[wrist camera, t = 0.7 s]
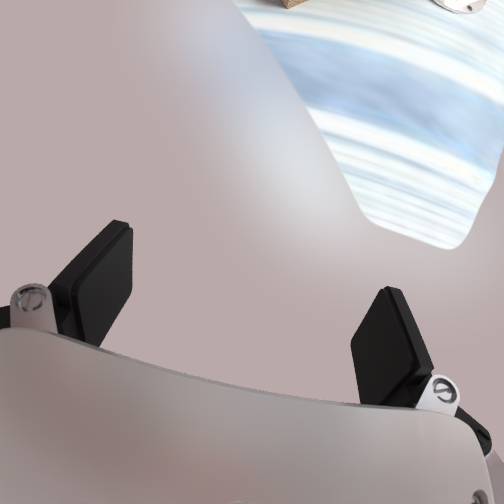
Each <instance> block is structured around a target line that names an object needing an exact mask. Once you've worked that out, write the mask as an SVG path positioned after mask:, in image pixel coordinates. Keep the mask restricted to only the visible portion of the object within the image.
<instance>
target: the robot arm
mask: <svg viewBox="0 0 504 504" xmlns="http://www.w3.org/2000/svg"><path fill="white" fill-rule="evenodd" d="M433 1H434V2H436V3H437V4H438V5H440V6H442V7H444V8H445V9H447V10H450V11H452V12H455V13H459V14H472V13H476V12H478V11H480V10H481V9H482V8H483V7H484V5H485V4H486V0H433ZM132 252H133V229H132V228H130V227H129V224H128V223H126V222H122V221H117V220H113V221H112V222H110V223H109V224H108V225H107V226H106V227H105V228H104V229H103V230H102V231H101V232H100V233H99V234H98V235H97V236H96V237H95V238H94V239H93V240H92V241H91V242H90V243H89V244H88V245H87V246H86V247H85V248H84V249H83V250H82V251H81V252H80V253H79V254H78V255H77V256H76V257H75V258H74V259H73V260H72V261H71V262H70V263H69V264H68V265H67V266H66V267H65V268H64V270H63V271H62V272H61V273H60V274H59V275H58V276H57V277H56V278H55V279H54V280H53V281H52V283H51V284H50V285H49V286H48V287H45V286H43V285H41V284H36V283H35V284H27V285H24V286H22V287H20V288H18V289H17V290H16V291H15V292H14V293H13V295H12V297H11V301H10V305H9V306H4V307H0V504H504V463H503V462H502V460H501V459H500V458H499V456H498V455H497V453H496V452H495V451H492V452H491V451H490V450H491V446H492V443H491V437H490V434H489V432H488V431H487V430H486V429H485V428H484V427H483V426H482V425H481V424H479V423H478V422H477V421H476V420H475V419H473V418H472V417H471V416H470V415H469V414H467V413H466V412H465V411H464V410H463V409H461V408H460V407H459V406H458V404H459V401H460V394H459V390H458V388H457V386H456V385H455V384H454V382H453V381H452V380H450V379H449V378H447V377H446V376H443V375H434V376H432V374H431V371H432V370H433V369H434V366H433V364H432V361H431V359H430V356H429V354H428V351H427V348H426V346H425V344H424V341H423V339H422V336H421V334H420V331H419V329H418V327H417V324H416V322H415V320H414V317H413V315H412V313H411V311H410V308H409V306H408V304H407V302H406V300H405V297H404V295H403V293H402V291H401V290H400V289H397V288H393V287H389V286H386V287H385V288H384V289H381V290H380V291H379V292H378V294H377V296H376V298H375V299H374V301H373V303H372V305H371V307H370V308H369V310H368V312H367V314H366V315H365V317H364V319H363V321H362V322H361V324H360V326H359V327H358V329H357V331H356V333H355V334H354V336H353V338H352V340H351V351H352V357H353V362H354V367H355V373H356V379H357V385H358V391H359V398H360V404H355V403H344V402H335V401H326V400H318V399H311V398H303V397H297V396H290V395H284V394H277V393H272V392H267V391H261V390H256V389H251V388H245V387H240V386H236V385H231V384H226V383H222V382H218V381H213V380H209V379H205V378H200V377H197V376H193V375H188V374H185V373H181V372H177V371H174V370H170V369H166V368H163V367H159V366H156V365H153V364H149V363H146V362H143V361H139V360H136V359H133V358H130V357H127V356H124V355H121V354H117V353H114V352H111V351H108V350H105V349H102V348H99V346H100V345H101V343H102V341H103V340H104V338H105V336H106V334H107V333H108V331H109V329H110V327H111V326H112V324H113V323H114V321H115V319H116V318H117V316H118V314H119V313H120V311H121V309H122V308H123V306H124V304H125V303H126V301H127V299H128V298H129V296H130V294H131V291H132Z"/></svg>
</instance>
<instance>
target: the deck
mask: <svg viewBox="0 0 504 504" xmlns="http://www.w3.org/2000/svg"><path fill="white" fill-rule="evenodd" d="M281 1H282V2H283V4H284V5H285V6H286V8H287V9H289V8H291V7H293V6H296V5H298V4H300V3H303V2H305V1H308V0H281Z"/></svg>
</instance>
